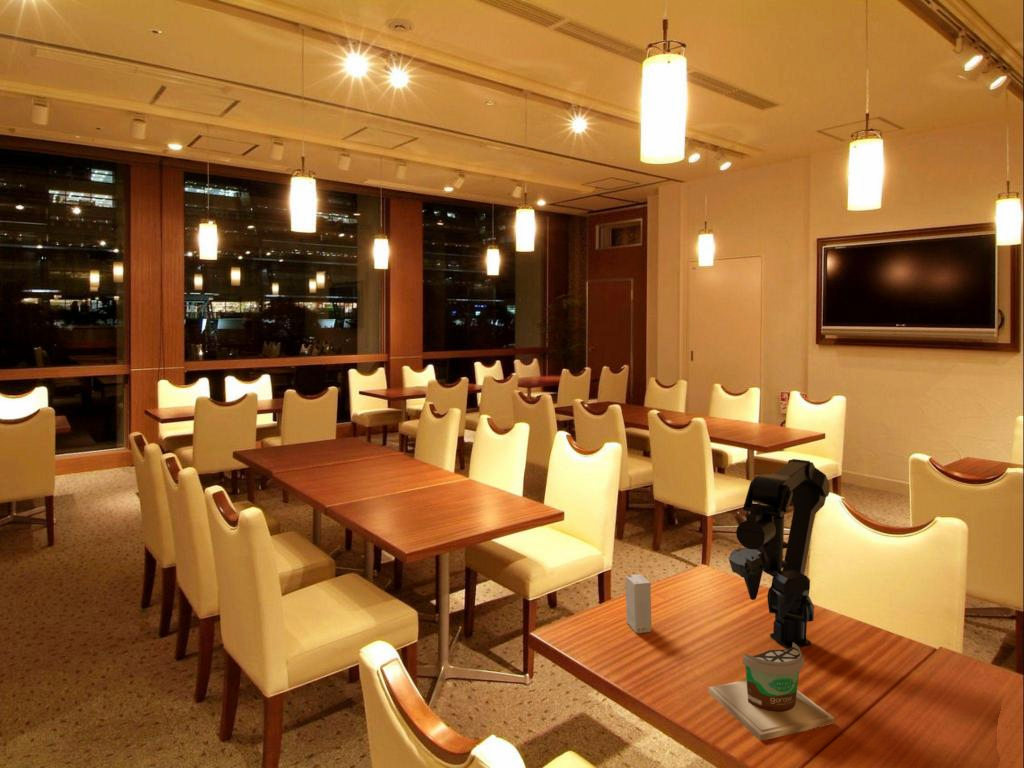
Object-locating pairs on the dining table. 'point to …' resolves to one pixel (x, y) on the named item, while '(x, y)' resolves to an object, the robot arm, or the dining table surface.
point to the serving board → (769, 712)
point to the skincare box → (638, 603)
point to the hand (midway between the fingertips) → (766, 608)
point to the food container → (773, 678)
